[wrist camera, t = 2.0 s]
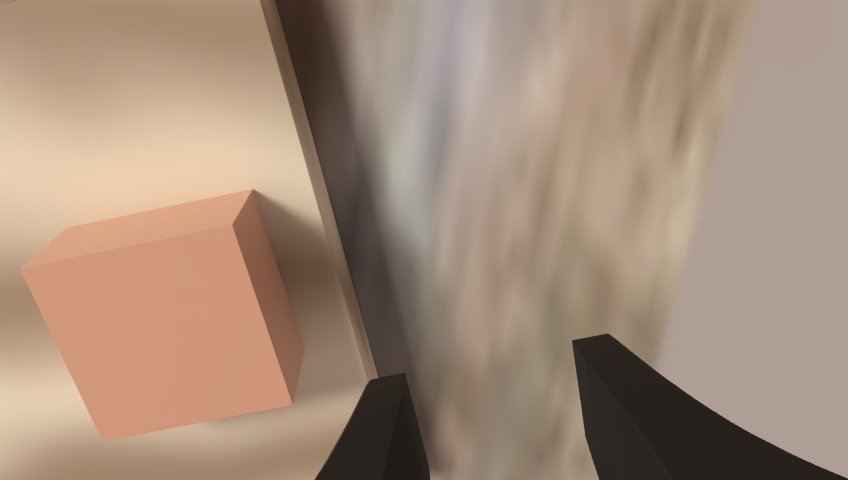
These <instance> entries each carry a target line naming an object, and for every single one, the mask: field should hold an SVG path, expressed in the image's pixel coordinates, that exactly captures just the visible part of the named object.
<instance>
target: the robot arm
mask: <svg viewBox="0 0 848 480" xmlns="http://www.w3.org/2000/svg"><path fill="white" fill-rule="evenodd" d="M572 343H573V351H574V358H575V365H576V372H577V379H578V386H579V393H580V400H581V407H582V415H583V422H584V429H585V436H586V440H587V443H588V446H589V449H590V452H591V455H592V459H593V462H594V465H595V468H596V471H597V474H598V477H599V480H848V479H847V478H845V477H842V476H840V475H838V474H835V473H833V472H830V471H828V470H826V469H823V468H821V467H819V466H816V465H814V464H812V463H810V462H807V461H805V460H803V459H801V458H799V457H797V456H794V455H792V454H790V453H788V452H786V451H784V450H782V449H780V448H778V447H776V446H775V445H773V444H771V443H769V442H767V441H765V440H763V439H761V438H759V437H757V436H755V435H753V434H751V433H749V432H748V431H746V430H744V429H742V428H741V427H739V426H737V425H735V424H734V423H732V422H730V421H729V420H727V419H725V418H724V417H722V416H720V415H719V414H717V413H716V412H714V411H712V410H711V409H709V408H708V407H706V406H704V405H703V404H702V403H700V402H699V401H697V400H695V399H694V398H693V397H691V396H690V395H688V394H687V393H686V392H684V391H683V390H681V389H680V388H679V387H677V386H676V385H674V384H673V383H672V382H670V381H669V380H667V379H666V378H665V377H663V376H662V375H661V374H659V373H658V372H657V371H655V370H654V369H653V368H651V367H650V366H649V365H648V364H646V363H645V362H644V361H642V360H641V359H640V358H639V357H637V356H636V355H635V354H634V353H632V352H631V351H630V350H629V349H627V348H626V347H625V346H624V345H623V344H621V343H620V342H619V341H618V340H616V339H615V338H614V337H612V336H611V335H609V334H603V335H598V336H593V337H588V338H582V339H577V340H572ZM314 480H430V473H429V465H428V461H427V458H426V454H425V450H424V446H423V442H422V438H421V434H420V430H419V426H418V422H417V418H416V414H415V411H414V407H413V403H412V399H411V395H410V391H409V387H408V383H407V379H406V375H405V373H402V374H397V375H392V376H387V377H381V378H376V379H371V380H370V381H369V382H368V384H367V385H366V386H365V388H364V390H363V393H362V395H361V397H360V399H359V401H358V403H357V405H356V407H355V409H354V411H353V413H352V415H351V417H350V419H349V421H348V423H347V425H346V426H345V428H344V430H343V432H342V434H341V436H340V437H339V439H338V441H337V443H336V444H335V446H334V448H333V450H332V451H331V453H330V455H329V457H328V459H327V460H326V462H325V464H324V465H323V467H322V469H321V470H320V472H319V473H318V475H317V476H316V478H315V479H314Z"/></svg>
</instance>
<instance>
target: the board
mask: <svg viewBox="0 0 848 480" xmlns="http://www.w3.org/2000/svg"><path fill="white" fill-rule="evenodd" d="M250 189H253V191H254V194H255V197H256V200H257V203H258V207H259V210H260V213H261V216H262V219H263V222H264V225H265V229H266V232H267V235H268V238H269V241H270V244H271V247H272V251H273V254H274V257H275V260H276V263H277V266H278V269H279V273H280V276H281V279H282V282H283V285H284V288H285V291H286V295H287V298H288V301H289V304H290V307H291V310H292V314H293V317H294V320H295V323H296V326H297V329H298V332H299V336H300V339H301V342H302V345H303V348H304V351H305V352H304V357H303V361H302V366H301V370H300V375H299V379H298V384H297V388H296V392H295V397H294V401H293V405H289V406H284V407H279V408H274V409H269V410H263V411H258V412H253V413H248V414H243V415H238V416H232V417H227V418H222V419H217V420H212V421H207V422H201V423H196V424H191V425H186V426H181V427H175V428H170V429H165V430H160V431H155V432H150V433H144V434H139V435H134V436H129V437H124V438H119V439H113V440H108V441H102V439H101V437H100V435H99V433H98V431H97V429H96V427H95V424H94V422H93V420H92V418H91V416H90V414H89V412H88V410H87V408H86V406H85V404H84V401H83V399H82V397H81V395H80V393H79V391H78V389H77V387H76V385H75V383H74V381H73V379H72V376H71V374H70V372H69V370H68V368H67V366H66V364H65V362H64V360H63V358H62V356H61V353H60V351H59V349H58V347H57V345H56V343H55V341H54V339H53V337H52V335H51V333H50V331H49V328H48V326H47V324H46V322H45V320H44V318H43V316H42V314H41V312H40V310H39V308H38V305H37V303H36V301H35V299H34V297H33V295H32V293H31V291H30V289H29V287H28V285H27V283H26V280H25V278H24V276H23V274H22V272H21V270H20V268H21V267H22V266H23V265H24V264H26V263H27V262H28V261H29V260H30V259H31V258H33V257H34V256H35V255H36V254H37V253H38V252H40V251H41V250H42V249H43V248H44V247H45V246H46V245H48V244H49V243H50V242H51V241H52V240H53V239H55V238H56V237H57V236H58V235H59V234H60V233H61V232H63V231H64V230H65V229H66V228H68V227H72V226H77V225H82V224H87V223H92V222H96V221H101V220H106V219H111V218H116V217H120V216H125V215H130V214H135V213H140V212H144V211H149V210H154V209H159V208H164V207H168V206H173V205H178V204H183V203H188V202H192V201H197V200H202V199H207V198H212V197H216V196H221V195H226V194H231V193H236V192H240V191H245V190H250ZM376 378H378V374H377V370H376V367H375V363H374V359H373V356H372V352H371V348H370V345H369V341H368V338H367V334H366V330H365V327H364V323H363V319H362V316H361V312H360V308H359V305H358V301H357V297H356V294H355V290H354V286H353V283H352V279H351V275H350V272H349V268H348V264H347V261H346V257H345V254H344V250H343V246H342V243H341V239H340V235H339V232H338V228H337V224H336V221H335V217H334V213H333V210H332V206H331V202H330V199H329V195H328V191H327V188H326V184H325V181H324V177H323V173H322V170H321V166H320V162H319V159H318V155H317V151H316V148H315V144H314V140H313V137H312V133H311V129H310V126H309V122H308V118H307V115H306V111H305V107H304V104H303V100H302V97H301V93H300V89H299V86H298V82H297V78H296V75H295V71H294V67H293V64H292V60H291V56H290V53H289V49H288V45H287V42H286V38H285V34H284V31H283V27H282V23H281V20H280V16H279V13H278V9H277V5H276V2H275V0H19V1H15V2H10V3H6V4H1V5H0V480H314V479H315V478H316V476H317V475H318V473H319V472H320V470H321V469H322V467H323V465H324V464H325V462H326V460H327V459H328V457H329V455H330V453H331V451H332V450H333V448H334V446H335V444H336V443H337V441H338V439H339V437H340V436H341V434H342V432H343V430H344V428H345V426H346V425H347V423H348V421H349V419H350V417H351V415H352V413H353V411H354V409H355V407H356V405H357V403H358V401H359V399H360V397H361V395H362V393H363V390H364V388H365V386H366V385H367V384H368V382H369V381H370V380H371V379H376Z"/></svg>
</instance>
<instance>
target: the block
mask: <svg viewBox="0 0 848 480" xmlns="http://www.w3.org/2000/svg"><path fill="white" fill-rule="evenodd" d="M20 270H21V272H22V274H23V276H24V278H25V280H26V283H27V285H28V287H29V289H30V291H31V293H32V295H33V297H34V299H35V301H36V303H37V305H38V308H39V310H40V312H41V314H42V316H43V318H44V320H45V322H46V324H47V326H48V328H49V331H50V333H51V335H52V337H53V339H54V341H55V343H56V345H57V347H58V349H59V351H60V353H61V356H62V358H63V360H64V362H65V364H66V366H67V368H68V370H69V372H70V374H71V376H72V379H73V381H74V383H75V385H76V387H77V389H78V391H79V393H80V395H81V397H82V399H83V401H84V404H85V406H86V408H87V410H88V412H89V414H90V416H91V418H92V420H93V422H94V424H95V427H96V429H97V431H98V433H99V435H100V437H101V439H102V441H108V440H113V439H119V438H124V437H129V436H134V435H139V434H144V433H150V432H155V431H160V430H165V429H170V428H175V427H181V426H186V425H191V424H196V423H201V422H207V421H212V420H217V419H222V418H227V417H232V416H238V415H243V414H248V413H253V412H258V411H263V410H269V409H274V408H279V407H284V406H289V405H293V401H294V397H295V392H296V388H297V384H298V379H299V375H300V370H301V366H302V361H303V357H304V352H305V351H304V348H303V345H302V342H301V339H300V336H299V332H298V329H297V326H296V323H295V320H294V317H293V314H292V310H291V307H290V304H289V301H288V298H287V295H286V291H285V288H284V285H283V282H282V279H281V276H280V273H279V269H278V266H277V263H276V260H275V257H274V254H273V251H272V247H271V244H270V241H269V238H268V235H267V232H266V229H265V225H264V222H263V219H262V216H261V213H260V210H259V207H258V203H257V200H256V197H255V194H254V191H253V189H250V190H245V191H240V192H236V193H231V194H226V195H221V196H216V197H212V198H207V199H202V200H197V201H192V202H188V203H183V204H178V205H173V206H168V207H164V208H159V209H154V210H149V211H144V212H140V213H135V214H130V215H125V216H120V217H116V218H111V219H106V220H101V221H96V222H92V223H87V224H82V225H77V226H72V227H68V228H66V229H65V230H64V231H63V232H61V233H60V234H59V235H58V236H57V237H56V238H55V239H53V240H52V241H51V242H50V243H49V244H48V245H46V246H45V247H44V248H43V249H42V250H41V251H40V252H38V253H37V254H36V255H35V256H34V257H33V258H31V259H30V260H29V261H28V262H27V263H26V264H24V265H23V266H22V267H21V268H20Z"/></svg>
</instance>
